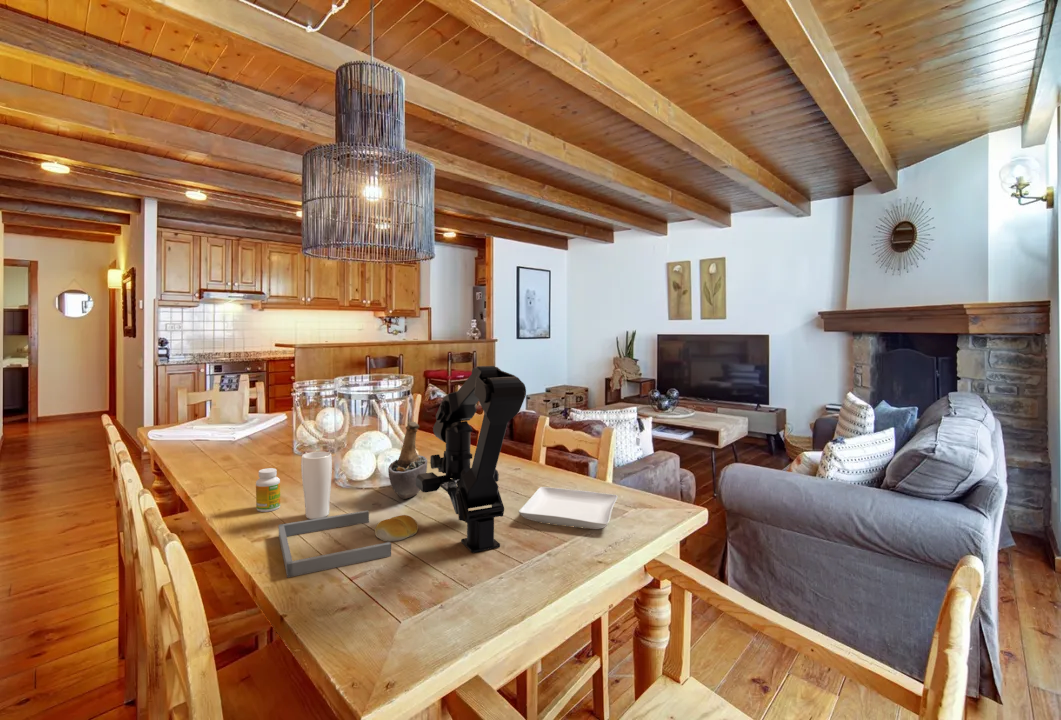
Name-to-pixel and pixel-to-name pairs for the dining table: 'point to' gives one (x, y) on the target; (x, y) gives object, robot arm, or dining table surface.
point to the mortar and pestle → (407, 466)
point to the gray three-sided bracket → (334, 558)
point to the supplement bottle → (267, 490)
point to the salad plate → (569, 507)
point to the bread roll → (396, 528)
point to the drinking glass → (316, 483)
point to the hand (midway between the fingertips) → (457, 513)
